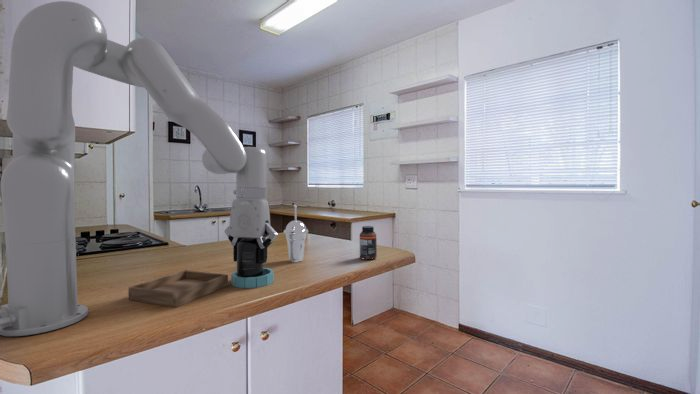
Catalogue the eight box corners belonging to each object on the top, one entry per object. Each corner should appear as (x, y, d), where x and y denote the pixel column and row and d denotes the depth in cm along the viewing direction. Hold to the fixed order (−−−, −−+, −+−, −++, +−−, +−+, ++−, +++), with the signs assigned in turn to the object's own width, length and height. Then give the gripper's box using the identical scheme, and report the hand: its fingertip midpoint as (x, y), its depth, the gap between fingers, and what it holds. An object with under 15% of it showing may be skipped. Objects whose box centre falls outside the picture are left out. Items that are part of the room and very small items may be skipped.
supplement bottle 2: (368, 255, 120) (368, 225, 120) (380, 258, 115) (380, 226, 115) (356, 258, 116) (356, 226, 116) (367, 261, 112) (367, 228, 111)
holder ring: (257, 289, 81) (257, 279, 81) (223, 285, 85) (222, 275, 85) (280, 278, 91) (280, 269, 91) (248, 274, 95) (248, 266, 95)
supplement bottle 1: (268, 274, 89) (269, 229, 89) (251, 280, 83) (251, 232, 83) (248, 271, 92) (249, 228, 92) (230, 276, 86) (231, 230, 85)
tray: (176, 307, 70) (175, 294, 70) (128, 299, 74) (128, 287, 74) (228, 285, 85) (227, 274, 85) (185, 280, 89) (185, 270, 89)
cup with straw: (313, 259, 114) (313, 201, 113) (298, 265, 106) (298, 203, 105) (293, 257, 118) (293, 201, 117) (277, 262, 110) (276, 202, 109)
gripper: (214, 193, 86) (213, 261, 87) (271, 195, 80) (270, 268, 81) (233, 193, 93) (232, 256, 94) (287, 195, 88) (286, 262, 88)
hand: (250, 261), depth 87 cm, fingers closed on supplement bottle 1, 6 cm apart
